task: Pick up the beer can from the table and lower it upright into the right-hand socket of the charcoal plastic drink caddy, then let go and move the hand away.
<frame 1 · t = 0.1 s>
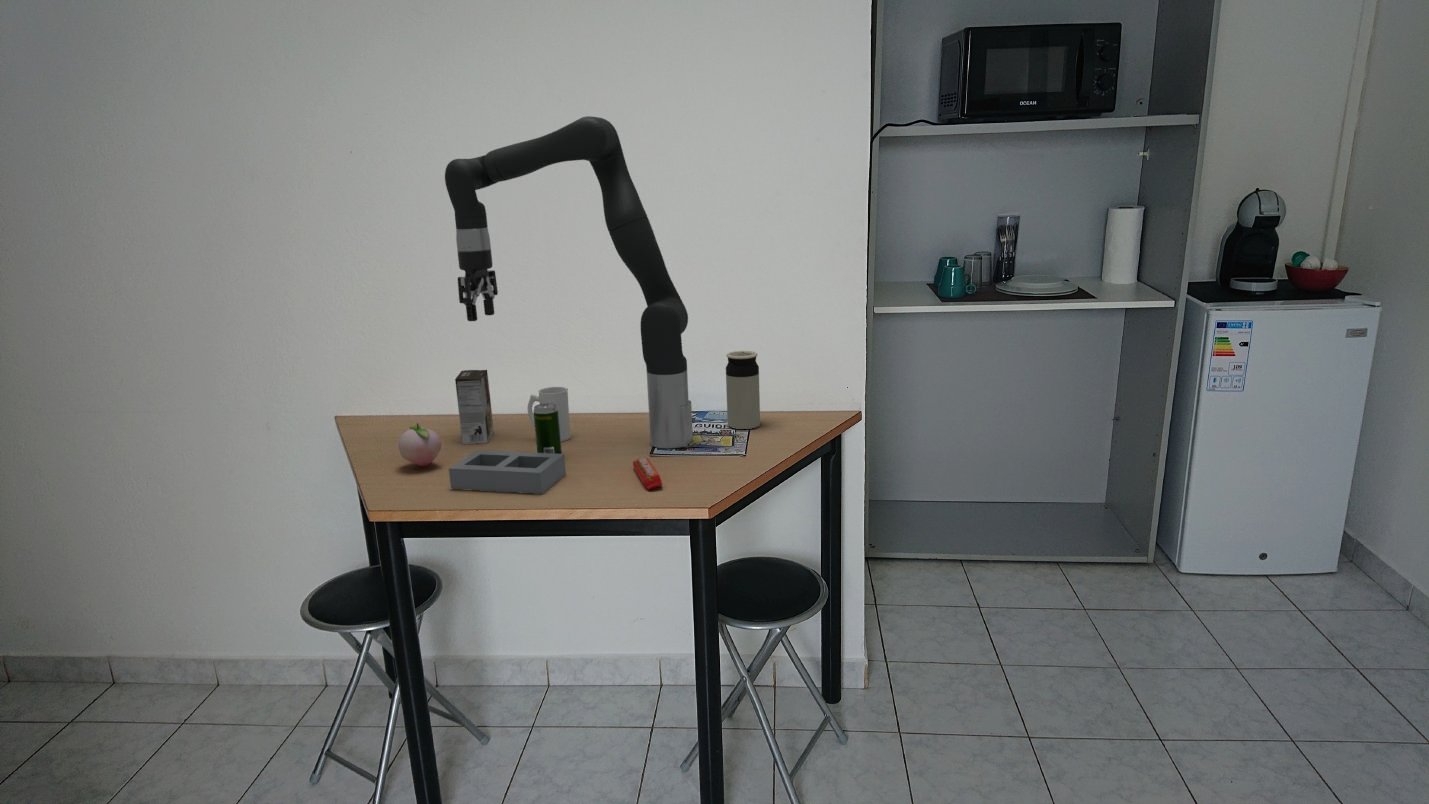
hand: (481, 317, 211), 29 cm above the table, tool pointing down, fingers open, 8 cm apart
coffee box: (478, 439, 217), on the table
candy bar: (647, 480, 185), on the table
mug: (550, 439, 215), on the table
travel mug: (743, 426, 219), on the table
drink caddy: (509, 481, 186), on the table
beer can: (549, 458, 200), on the table
decorative fruit: (421, 468, 197), on the table
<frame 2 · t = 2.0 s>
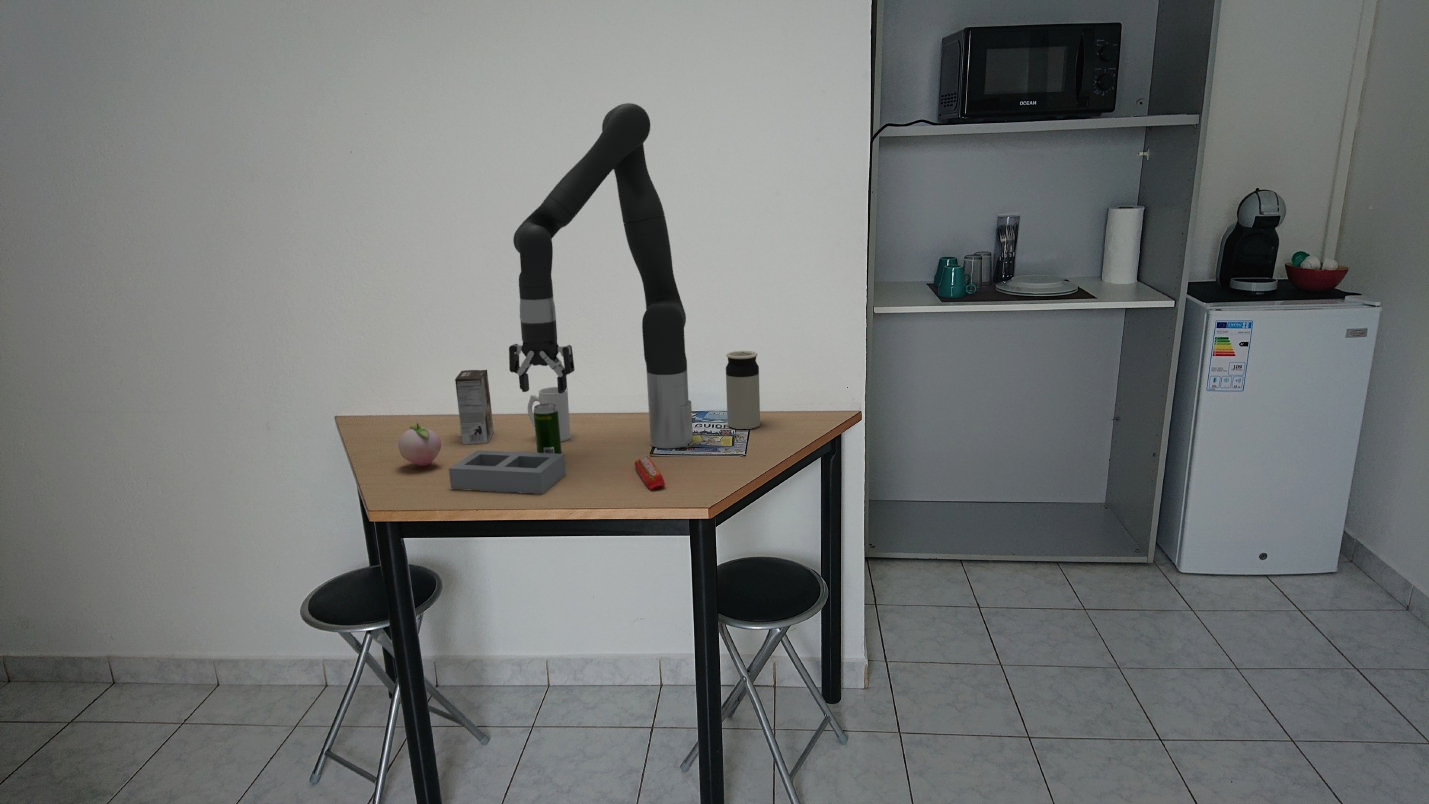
hand: (543, 391, 197), 15 cm above the table, tool pointing down, fingers open, 8 cm apart
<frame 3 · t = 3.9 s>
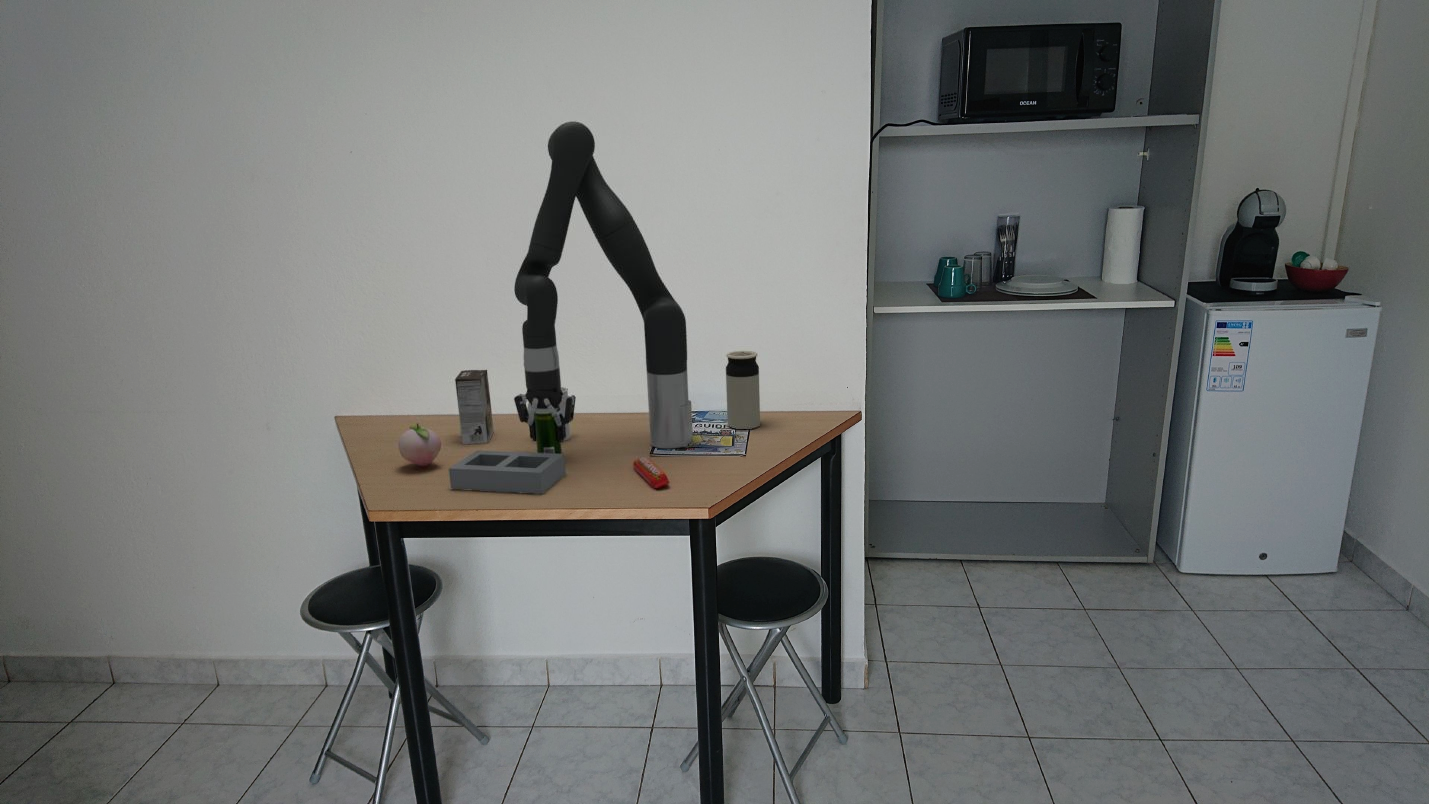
hand: (548, 440, 199), 4 cm above the table, tool pointing down, fingers closed on beer can, 5 cm apart
beer can: (550, 458, 200), on the table, touching gripper
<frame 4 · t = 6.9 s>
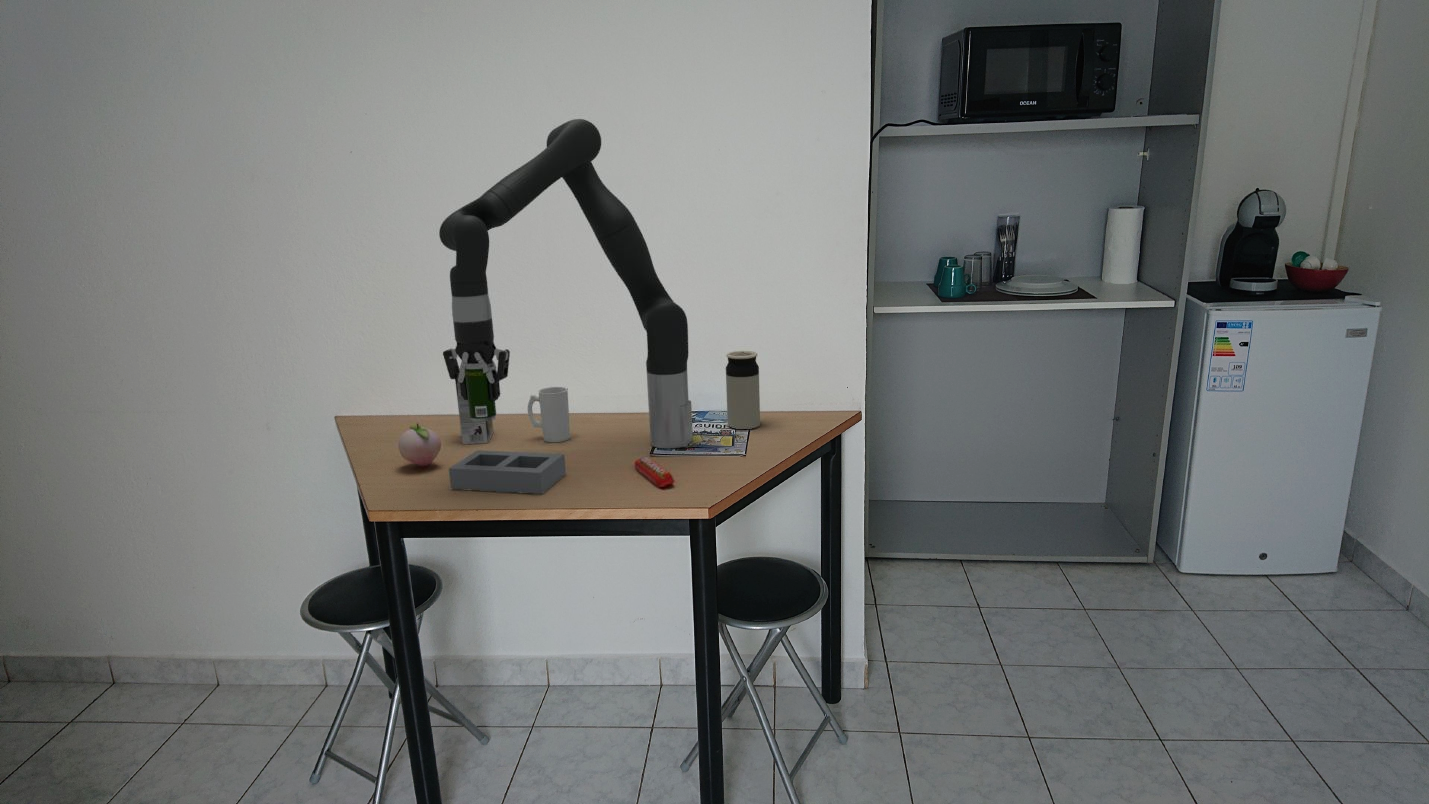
hand: (481, 399, 183), 17 cm above the table, tool pointing down, fingers closed on beer can, 5 cm apart
beer can: (483, 419, 184), point 13 cm above the table, touching gripper
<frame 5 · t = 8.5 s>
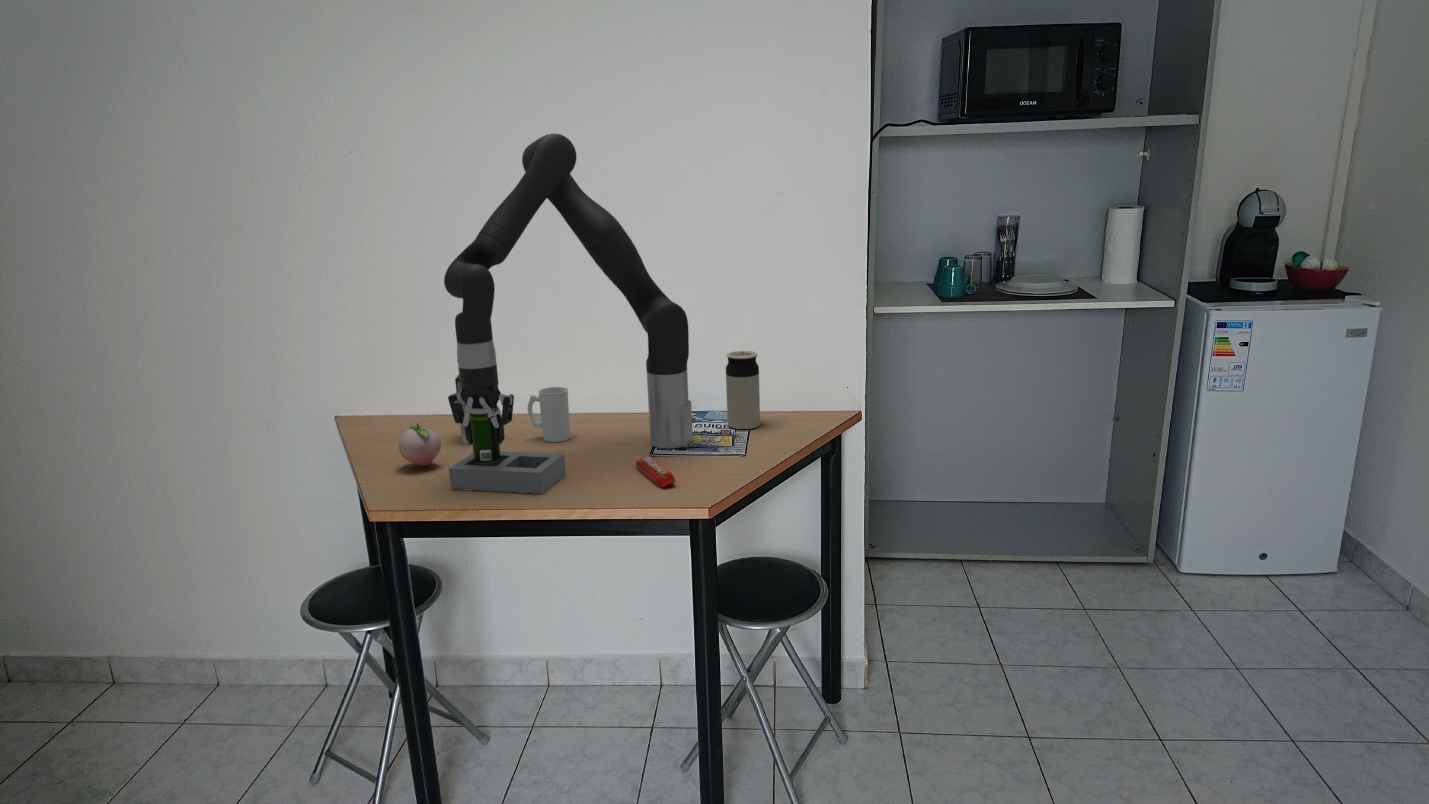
hand: (485, 442, 185), 8 cm above the table, tool pointing down, fingers closed on beer can, 5 cm apart
beer can: (487, 462, 186), point 4 cm above the table, touching gripper
when the fingers open (6 cm above the table, at t = 9.8 s): beer can drops 1 cm, resting on drink caddy.
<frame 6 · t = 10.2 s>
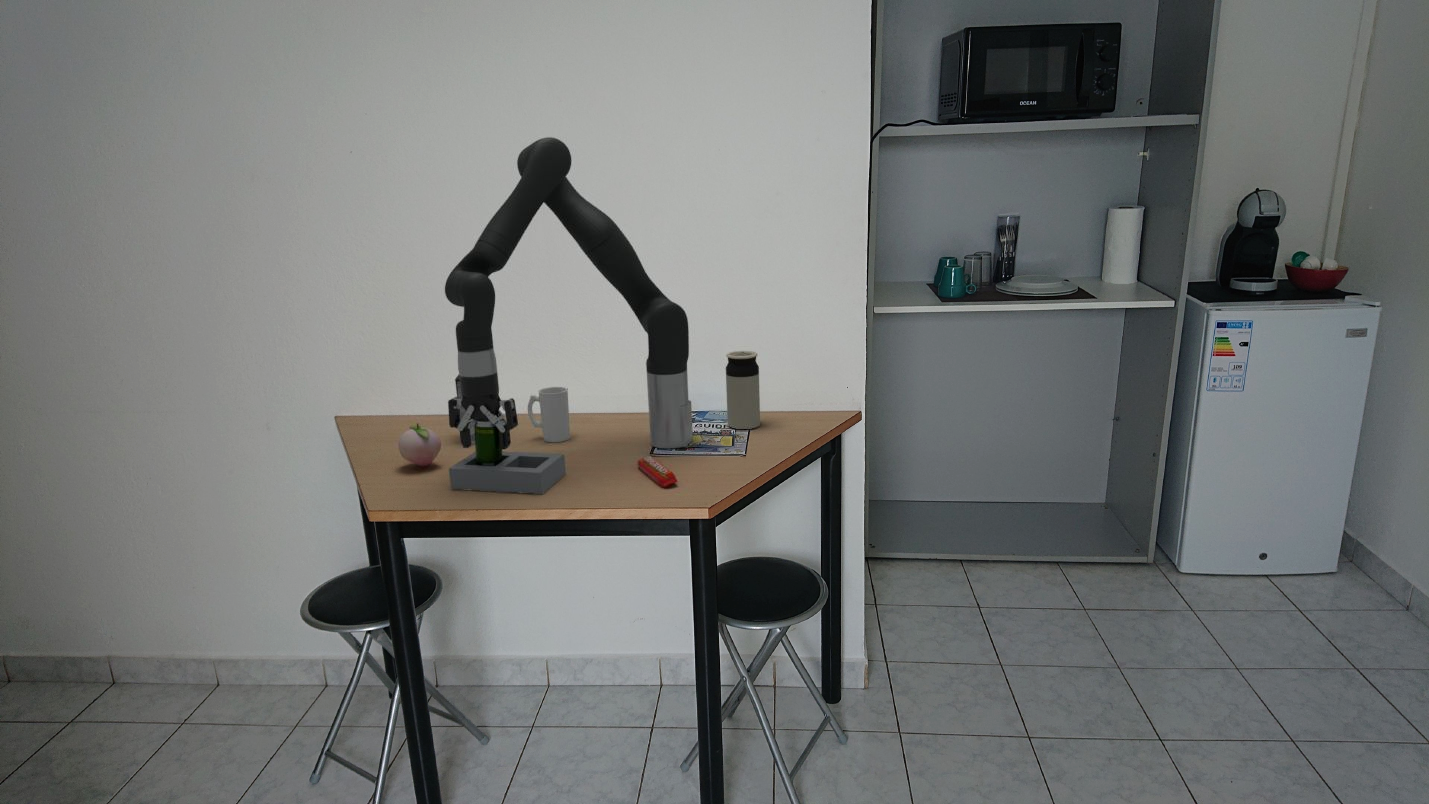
hand: (486, 447, 185), 7 cm above the table, tool pointing down, fingers open, 8 cm apart
beer can: (490, 476, 187), point 1 cm above the table, touching drink caddy
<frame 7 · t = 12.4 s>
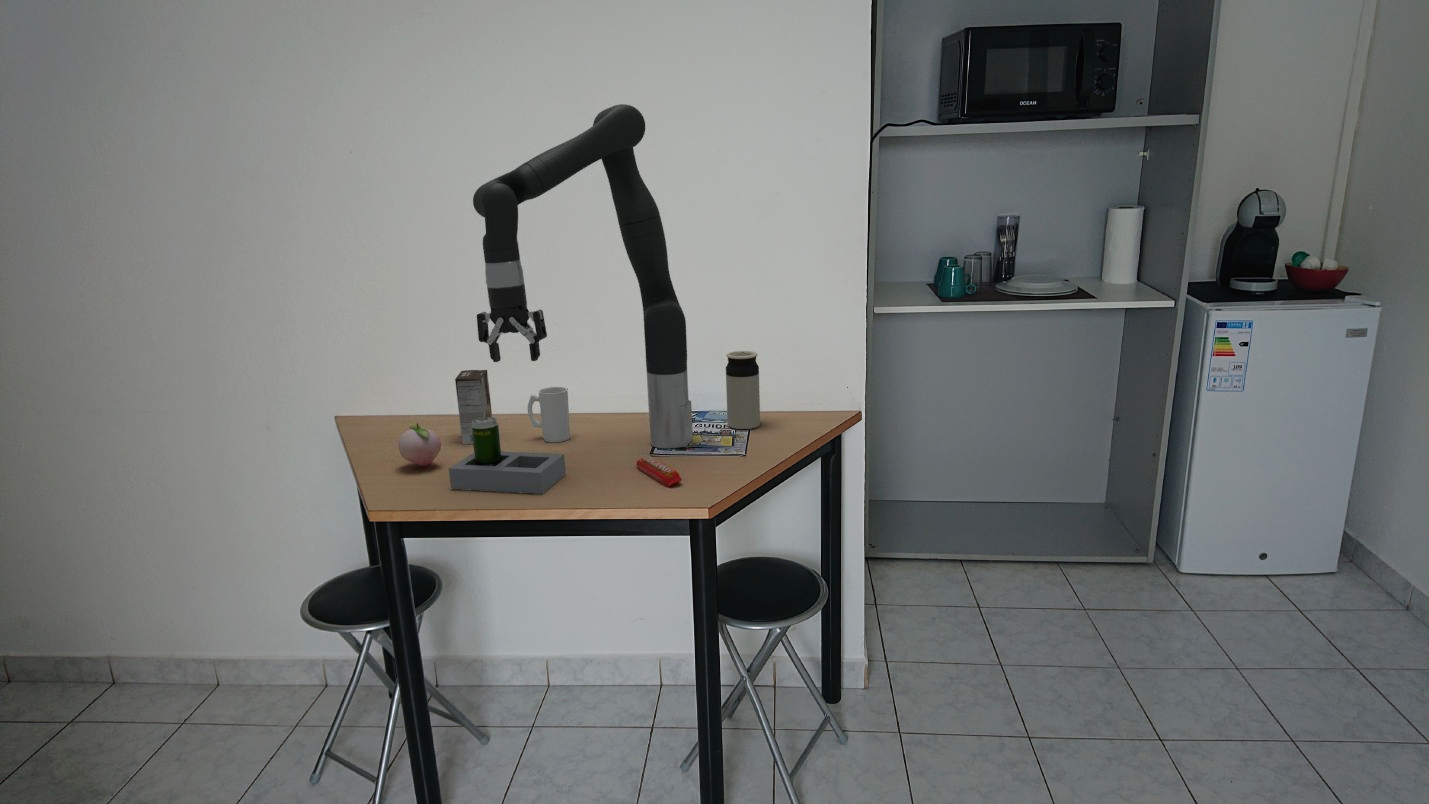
hand: (515, 360, 187), 24 cm above the table, tool pointing down, fingers open, 8 cm apart
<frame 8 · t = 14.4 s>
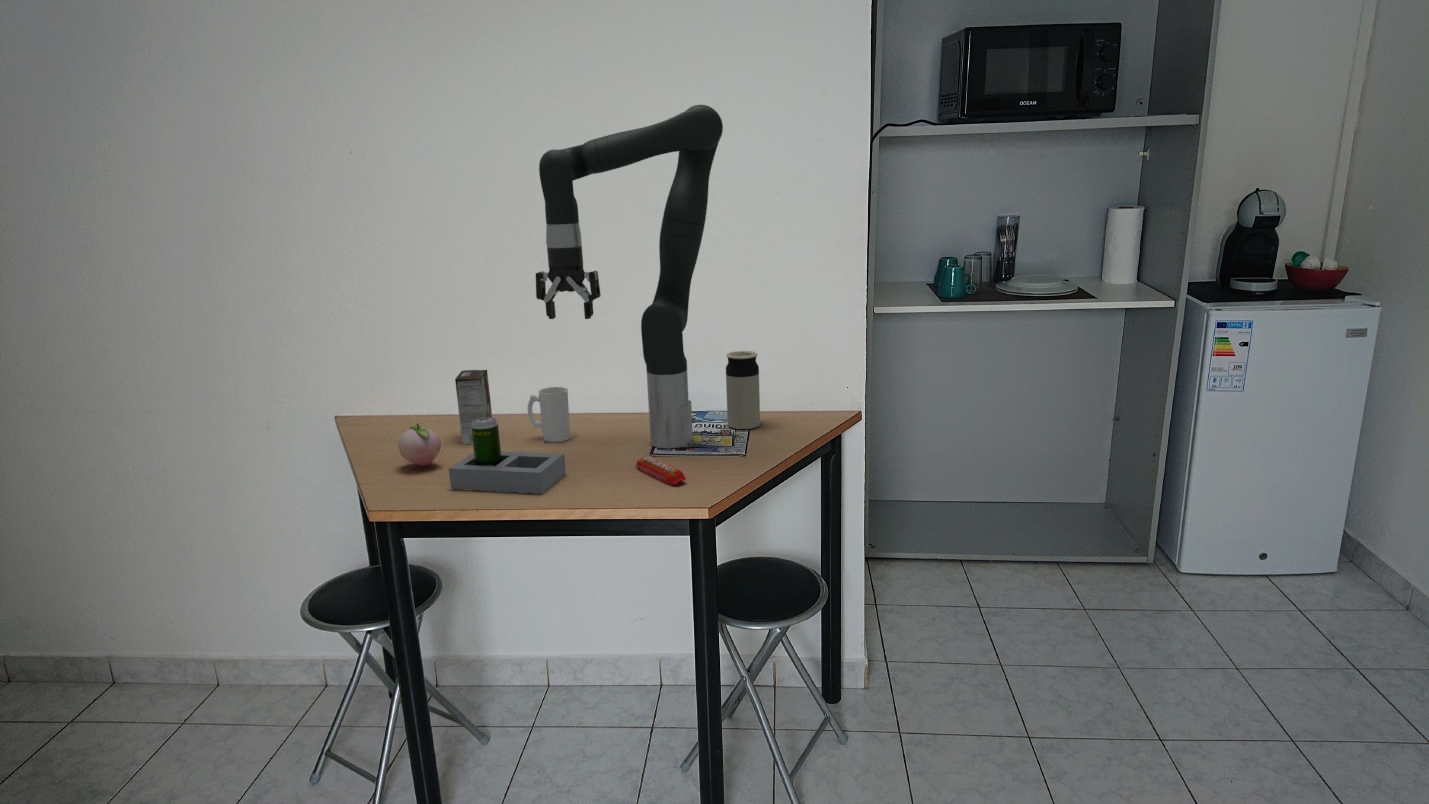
hand: (570, 318, 199), 30 cm above the table, tool pointing down, fingers open, 8 cm apart
at the end: beer can 0.1 cm from the target spot on the drink caddy, point 0.8 cm above the drink caddy's base; beer can tilted 0°; the gripper is holding nothing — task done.
